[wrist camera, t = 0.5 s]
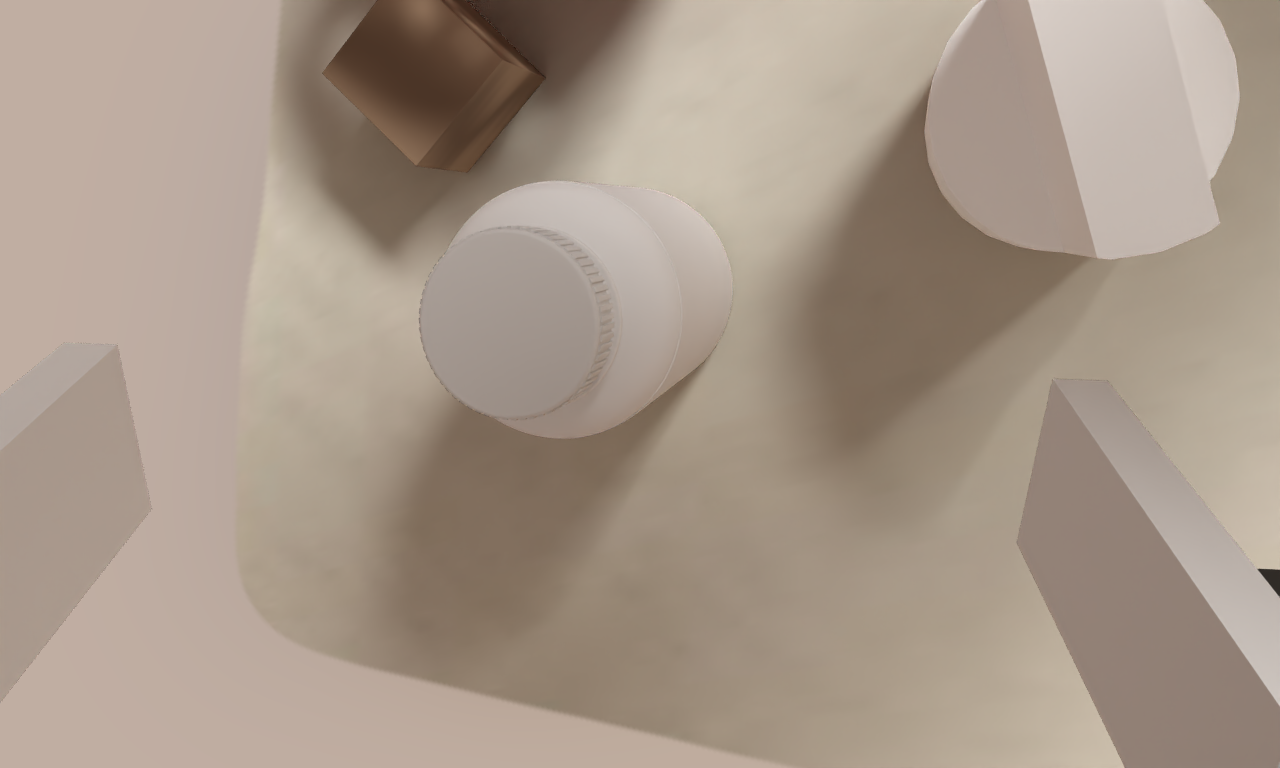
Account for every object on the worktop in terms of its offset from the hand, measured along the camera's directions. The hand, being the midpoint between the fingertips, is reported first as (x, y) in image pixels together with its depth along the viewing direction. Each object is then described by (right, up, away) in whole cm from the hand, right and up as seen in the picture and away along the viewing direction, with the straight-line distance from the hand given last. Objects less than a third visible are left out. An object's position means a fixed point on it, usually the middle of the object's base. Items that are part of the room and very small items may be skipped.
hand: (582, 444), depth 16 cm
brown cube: (-6, +13, +29) cm, 32 cm away
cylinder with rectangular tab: (+16, +10, +24) cm, 30 cm away
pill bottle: (+1, +5, +28) cm, 29 cm away
